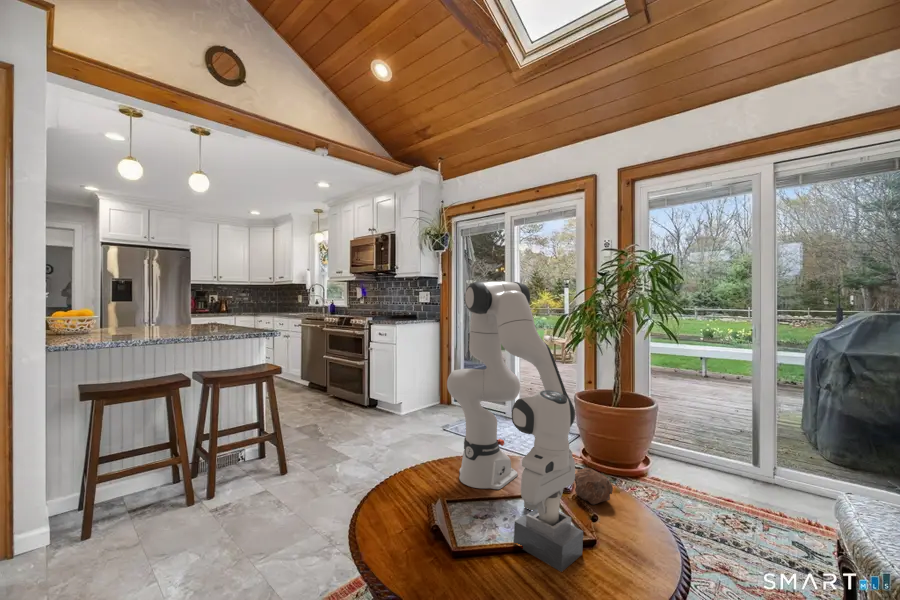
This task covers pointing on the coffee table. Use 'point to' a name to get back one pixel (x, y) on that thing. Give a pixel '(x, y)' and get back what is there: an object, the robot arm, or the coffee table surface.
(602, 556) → the coffee table surface
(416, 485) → the coffee table surface
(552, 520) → the cream cylinder
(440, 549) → the coffee table surface
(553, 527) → the grey socket block
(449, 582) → the coffee table surface
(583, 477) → the decorative rock
